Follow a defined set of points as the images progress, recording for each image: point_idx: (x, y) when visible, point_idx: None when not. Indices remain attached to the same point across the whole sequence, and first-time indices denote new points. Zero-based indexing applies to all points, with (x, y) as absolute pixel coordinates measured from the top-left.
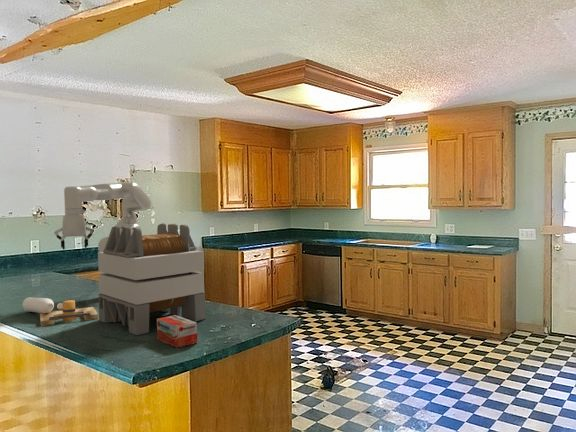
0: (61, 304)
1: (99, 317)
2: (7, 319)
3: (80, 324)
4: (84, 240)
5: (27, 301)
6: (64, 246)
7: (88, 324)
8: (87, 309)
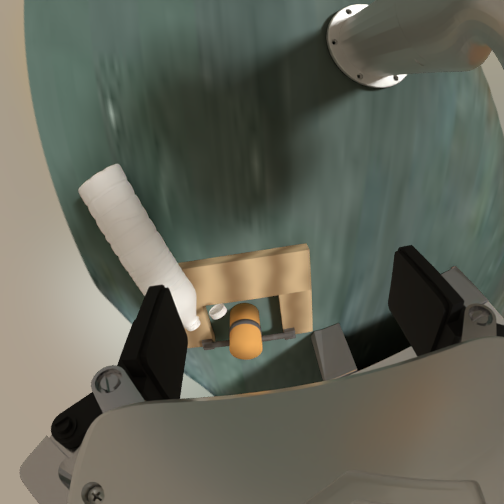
0: (221, 315)
1: (312, 343)
2: (85, 254)
3: (271, 351)
4: (435, 312)
5: (97, 224)
6: (183, 359)
7: (287, 355)
8: (290, 277)
